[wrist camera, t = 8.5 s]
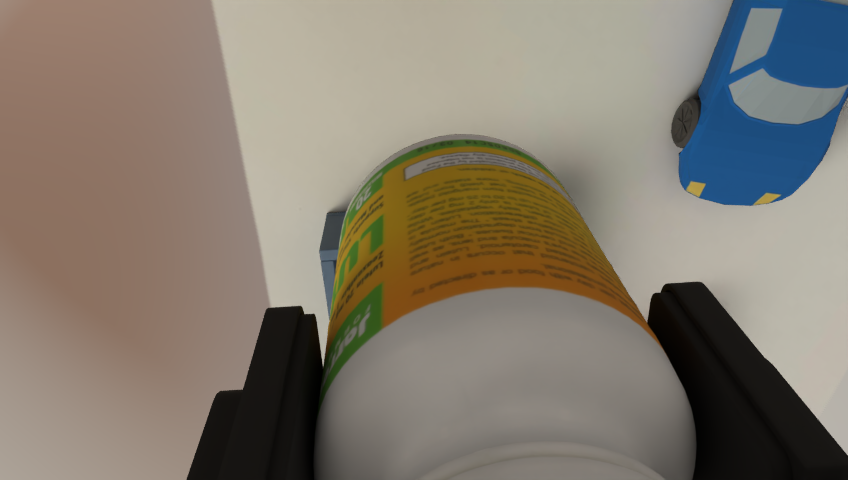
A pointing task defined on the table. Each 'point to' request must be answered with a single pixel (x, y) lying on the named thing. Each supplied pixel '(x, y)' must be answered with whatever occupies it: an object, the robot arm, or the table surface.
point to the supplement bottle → (488, 334)
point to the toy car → (765, 101)
